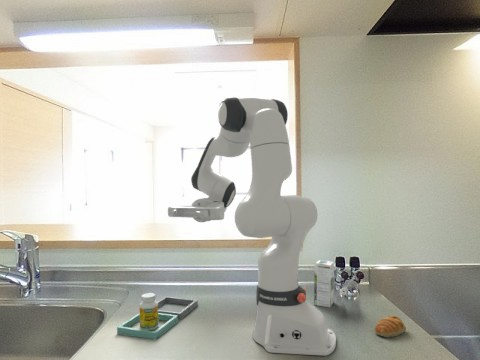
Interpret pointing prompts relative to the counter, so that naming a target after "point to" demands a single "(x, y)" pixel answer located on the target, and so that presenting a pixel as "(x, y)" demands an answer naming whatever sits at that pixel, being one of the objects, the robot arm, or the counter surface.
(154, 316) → the supplement bottle
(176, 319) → the bin
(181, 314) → the bin
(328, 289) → the syrup box
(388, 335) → the pastry
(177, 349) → the counter surface
